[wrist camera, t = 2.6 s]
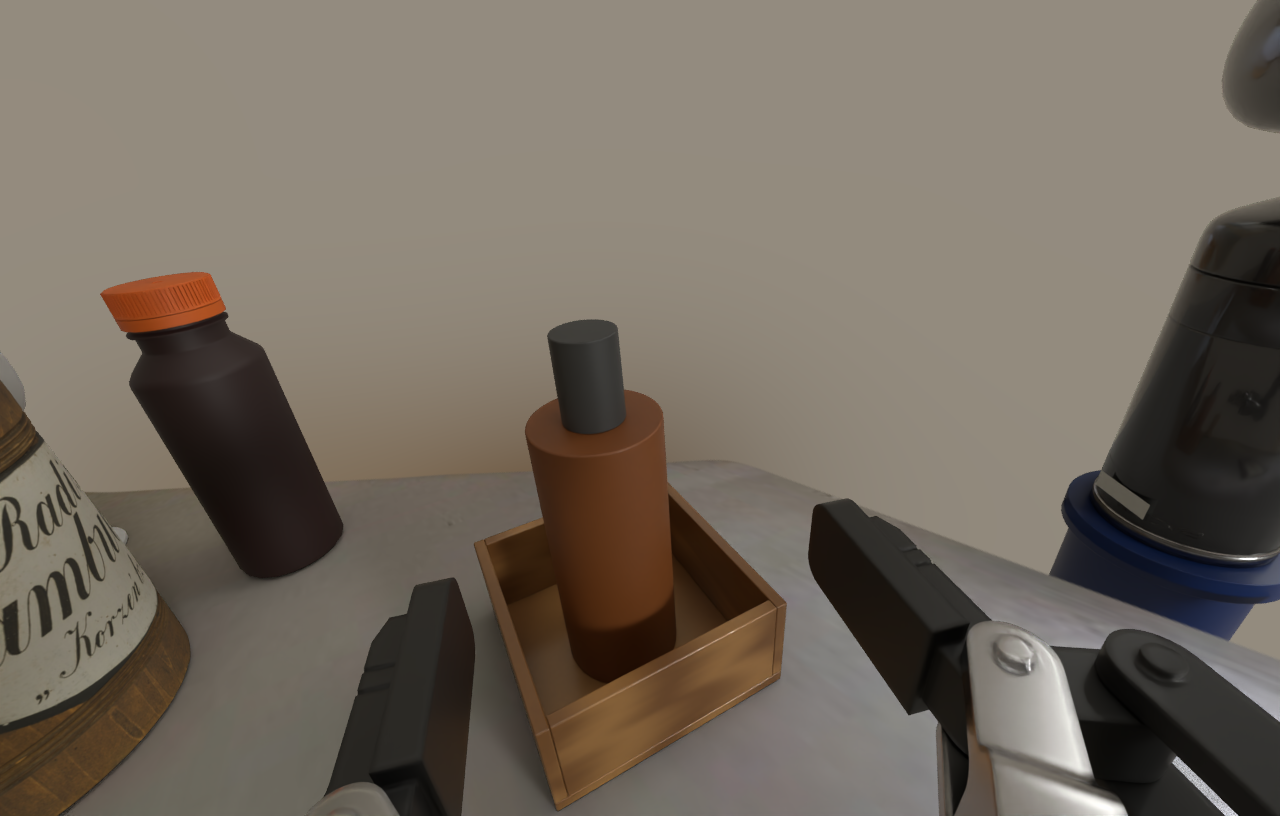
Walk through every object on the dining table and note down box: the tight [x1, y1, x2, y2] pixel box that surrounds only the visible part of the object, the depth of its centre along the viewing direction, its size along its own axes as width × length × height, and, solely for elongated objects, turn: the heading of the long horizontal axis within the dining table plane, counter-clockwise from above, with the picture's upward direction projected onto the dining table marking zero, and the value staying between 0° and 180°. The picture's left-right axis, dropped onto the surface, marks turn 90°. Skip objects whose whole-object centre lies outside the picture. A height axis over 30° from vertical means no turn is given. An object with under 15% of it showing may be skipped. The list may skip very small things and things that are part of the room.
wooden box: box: [474, 482, 787, 811], centre depth 28 cm, size 12×12×6 cm
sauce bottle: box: [525, 320, 677, 683], centre depth 24 cm, size 6×6×18 cm
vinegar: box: [100, 272, 343, 578], centre depth 34 cm, size 7×7×20 cm
